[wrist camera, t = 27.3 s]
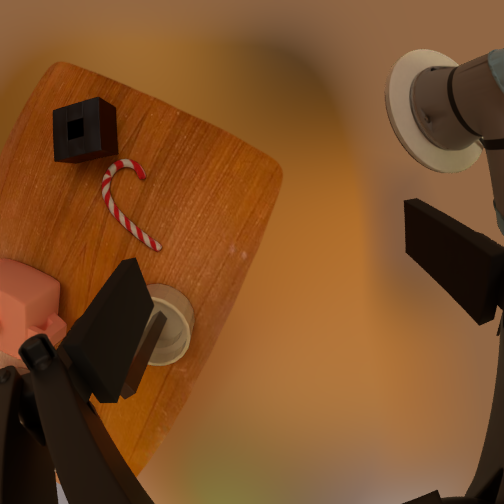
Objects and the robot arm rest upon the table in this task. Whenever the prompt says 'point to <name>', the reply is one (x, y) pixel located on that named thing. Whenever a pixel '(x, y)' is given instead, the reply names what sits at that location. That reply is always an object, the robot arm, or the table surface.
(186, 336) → the mixing bowl
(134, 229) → the candy cane
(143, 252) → the table surface
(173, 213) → the table surface
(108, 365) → the robot arm
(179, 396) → the table surface
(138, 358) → the stick
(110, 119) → the stick stand
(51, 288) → the teapot
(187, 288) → the table surface
